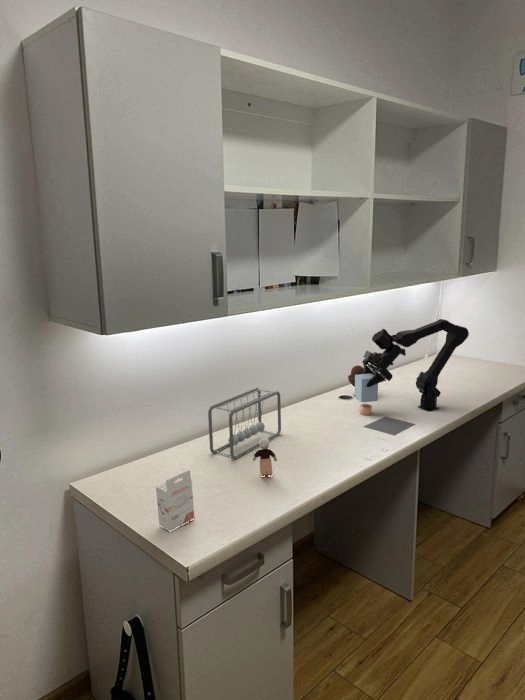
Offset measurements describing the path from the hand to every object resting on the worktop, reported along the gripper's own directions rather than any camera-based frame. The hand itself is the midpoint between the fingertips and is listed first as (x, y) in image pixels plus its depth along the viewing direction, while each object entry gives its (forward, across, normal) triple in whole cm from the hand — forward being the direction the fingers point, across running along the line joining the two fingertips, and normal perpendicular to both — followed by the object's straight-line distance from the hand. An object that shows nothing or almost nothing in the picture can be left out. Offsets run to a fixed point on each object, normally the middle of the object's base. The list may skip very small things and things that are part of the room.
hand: (363, 384), depth 218 cm
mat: (+6, +16, +13) cm, 21 cm away
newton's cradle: (+47, +18, -28) cm, 58 cm away
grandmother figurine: (+47, +45, -28) cm, 70 cm away
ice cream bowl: (+3, -25, +16) cm, 30 cm away
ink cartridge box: (+67, +66, -48) cm, 106 cm away
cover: (+4, 0, +6) cm, 7 cm away
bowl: (+9, 0, +11) cm, 14 cm away
